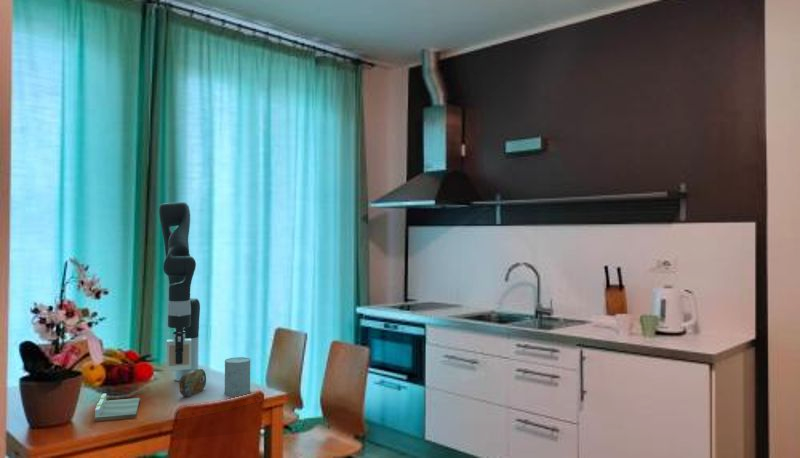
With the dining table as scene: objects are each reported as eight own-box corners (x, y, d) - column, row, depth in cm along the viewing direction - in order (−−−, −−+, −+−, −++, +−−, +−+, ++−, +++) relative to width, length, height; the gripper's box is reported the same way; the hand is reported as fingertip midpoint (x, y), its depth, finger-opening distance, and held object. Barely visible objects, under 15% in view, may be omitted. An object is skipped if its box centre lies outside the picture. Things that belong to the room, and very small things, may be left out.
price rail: (102, 400, 208) (102, 393, 208) (106, 400, 209) (106, 392, 209) (94, 417, 189) (94, 409, 189) (99, 417, 190) (99, 408, 190)
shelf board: (102, 404, 208) (102, 400, 208) (139, 401, 212) (139, 397, 212) (94, 421, 189) (94, 417, 189) (135, 417, 194) (135, 413, 194)
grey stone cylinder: (255, 392, 225) (255, 360, 225) (232, 397, 218) (232, 363, 218) (242, 387, 232) (242, 356, 232) (219, 392, 225) (219, 359, 225)
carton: (166, 368, 207) (167, 339, 207) (191, 366, 210) (191, 338, 210) (166, 371, 203) (166, 341, 203) (191, 369, 206) (191, 340, 206)
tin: (185, 399, 216) (185, 376, 216) (177, 398, 216) (177, 375, 216) (206, 388, 230) (207, 366, 230) (199, 388, 231) (199, 366, 231)
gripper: (168, 311, 212) (167, 358, 212) (167, 316, 199) (167, 367, 199) (190, 310, 215) (190, 357, 215) (191, 315, 201) (190, 365, 201)
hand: (179, 361), depth 207 cm, fingers closed on carton, 4 cm apart
